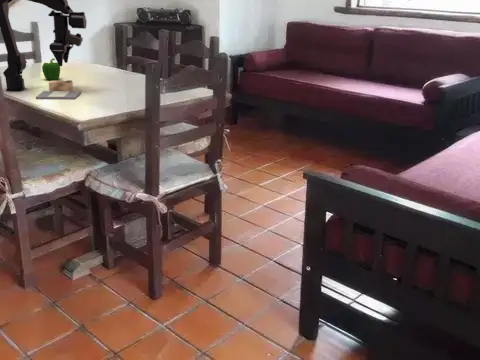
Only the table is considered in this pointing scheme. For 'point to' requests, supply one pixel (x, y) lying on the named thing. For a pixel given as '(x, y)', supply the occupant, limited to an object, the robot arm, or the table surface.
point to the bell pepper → (51, 70)
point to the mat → (58, 95)
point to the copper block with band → (61, 85)
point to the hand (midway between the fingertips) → (63, 64)
